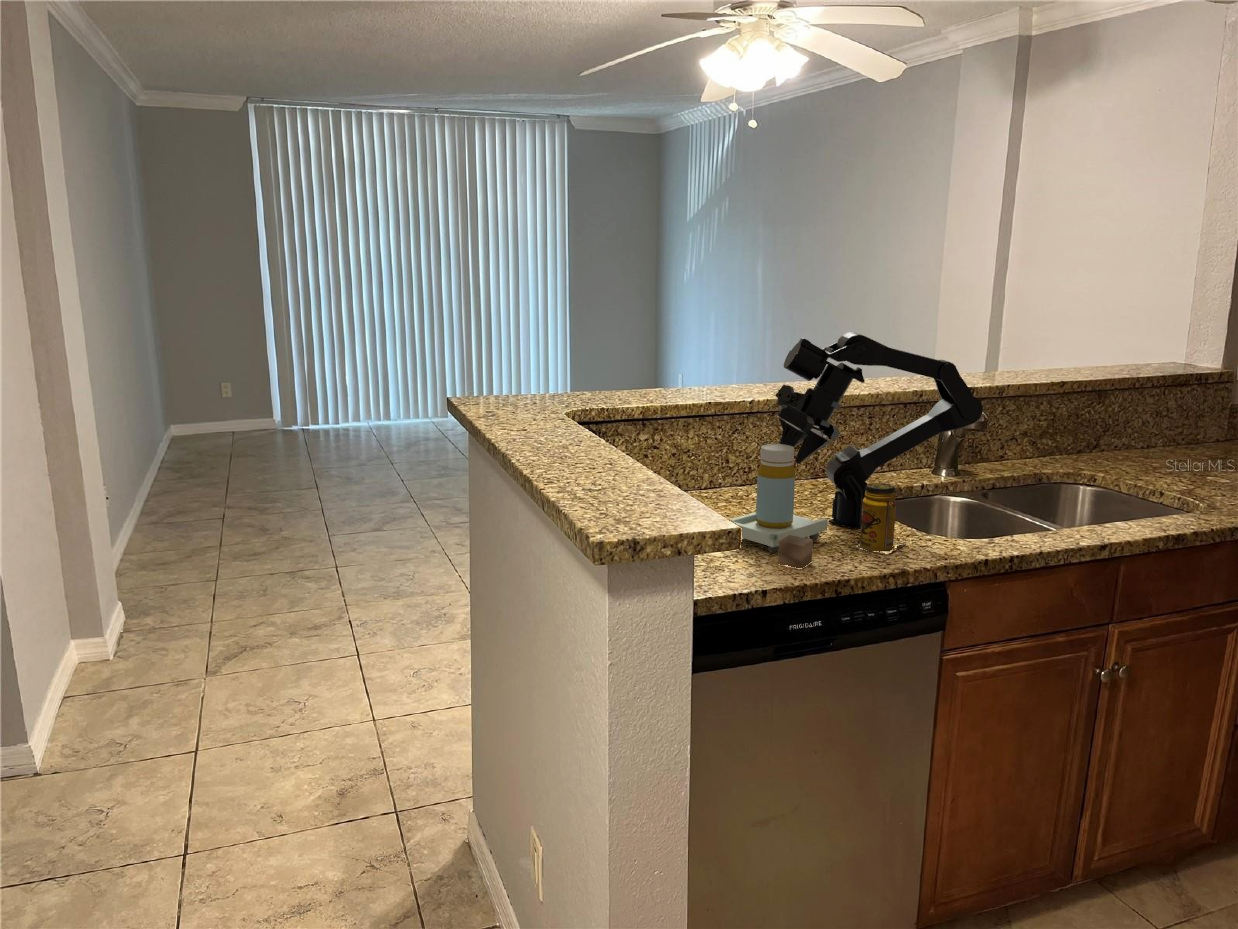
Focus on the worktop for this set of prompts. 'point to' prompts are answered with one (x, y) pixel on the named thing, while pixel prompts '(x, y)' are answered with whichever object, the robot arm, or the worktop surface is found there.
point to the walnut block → (795, 551)
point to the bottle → (775, 486)
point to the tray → (779, 530)
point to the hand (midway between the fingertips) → (788, 460)
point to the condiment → (878, 518)
